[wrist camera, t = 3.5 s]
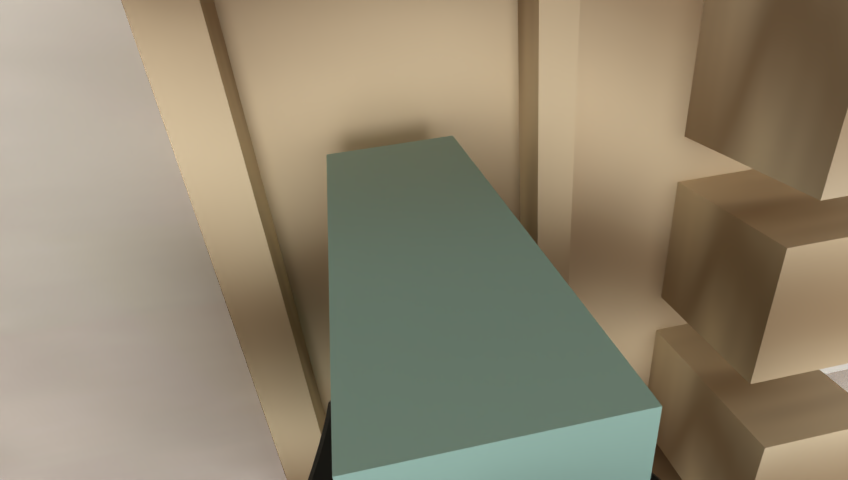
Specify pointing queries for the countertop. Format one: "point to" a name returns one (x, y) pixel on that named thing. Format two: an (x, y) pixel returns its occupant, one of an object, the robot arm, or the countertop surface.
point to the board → (464, 336)
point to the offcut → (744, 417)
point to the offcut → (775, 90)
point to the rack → (419, 120)
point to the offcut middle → (760, 273)
